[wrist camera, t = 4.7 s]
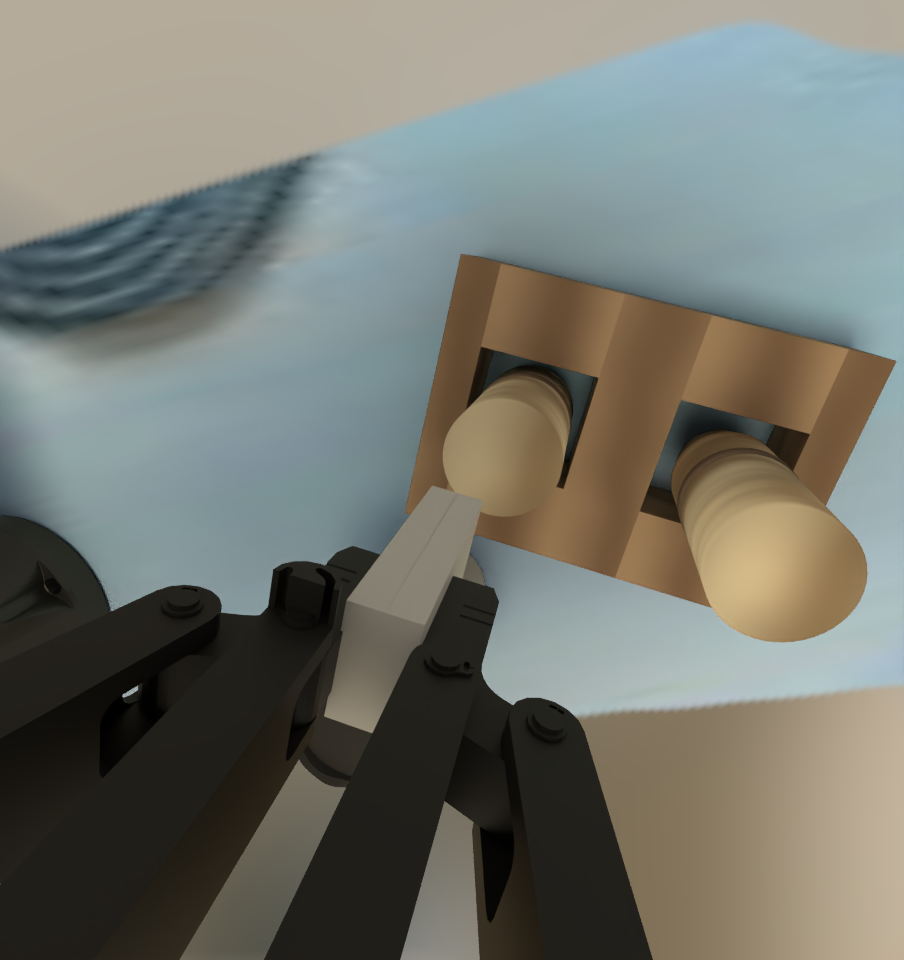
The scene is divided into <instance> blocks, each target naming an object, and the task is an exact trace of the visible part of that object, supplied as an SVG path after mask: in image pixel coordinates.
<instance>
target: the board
mask: <svg viewBox="0 0 904 960" xmlns="http://www.w3.org/2000/svg"><path fill="white" fill-rule="evenodd" d="M493 350H496V351H500V352H503V353H507V354H511V355H515V356H519V357H522V358H526V359H530V360H534V361H537V362H541V363H545V364H549V365H552V366H556V367H560V368H564V369H567V370H571V371H575V372H579V373H582V374H586V375H590V376H594V377H595V378H594V382H593V385H592V388H591V391H590V394H589V398H588V401H587V404H586V407H585V410H584V414H583V417H582V420H581V423H580V426H579V429H578V433H577V436H576V439H575V442H574V445H573V449H572V452H571V455H570V458H569V461H568V462H566V461H564V462H563V467H562V471H561V476H560V479H559V482H558V484H557V486H556V488H555V490H554V491H553V493H552V494H551V495H550V497H549V498H548V499H547V500H546V501H545V502H544V503H542V504H541V505H540V506H539V507H537V508H535V509H534V510H532V511H530V512H527V513H525V514H521V515H517V516H510V517H500V516H493V515H489V514H485V513H483V512H480V515H479V519H478V522H477V526H476V530H475V535H478V536H482V537H485V538H488V539H491V540H494V541H498V542H501V543H504V544H507V545H511V546H514V547H517V548H520V549H524V550H527V551H530V552H533V553H536V554H540V555H543V556H546V557H549V558H553V559H556V560H559V561H562V562H566V563H569V564H572V565H575V566H578V567H582V568H585V569H588V570H591V571H595V572H598V573H601V574H604V575H607V576H611V577H614V578H617V579H620V580H624V581H627V582H630V583H633V584H637V585H640V586H643V587H646V588H649V589H653V590H656V591H659V592H662V593H666V594H669V595H672V596H675V597H679V598H682V599H685V600H688V601H691V602H695V603H698V604H701V605H704V606H708V607H711V605H710V603H709V601H708V599H707V596H706V593H705V590H704V587H703V584H702V581H701V578H700V575H699V572H698V569H697V566H696V563H695V560H694V557H693V554H692V551H691V548H690V545H689V542H688V539H687V536H686V534H685V532H684V530H683V528H682V525H681V522H680V519H679V515H678V509H677V506H676V503H675V500H674V497H673V493H672V492H671V491H667V490H664V489H660V488H657V487H653V486H650V482H651V479H652V477H653V474H654V471H655V469H656V466H657V463H658V461H659V458H660V455H661V452H662V450H663V447H664V444H665V442H666V439H667V436H668V434H669V431H670V428H671V425H672V423H673V420H674V417H675V415H676V412H677V409H678V407H679V404H680V401H681V400H684V401H688V402H691V403H695V404H699V405H703V406H706V407H710V408H714V409H718V410H721V411H725V412H729V413H733V414H736V415H740V416H744V417H748V418H751V419H755V420H759V421H763V422H767V423H770V424H774V425H775V426H774V429H773V431H772V433H771V436H770V438H769V440H768V442H767V445H766V446H767V447H768V448H769V449H770V450H771V451H772V452H773V453H774V454H775V455H776V456H777V457H778V458H779V459H781V460H782V461H783V462H784V463H785V464H787V465H788V466H789V467H790V468H791V469H792V470H793V472H794V473H795V474H796V475H797V476H798V478H799V479H800V481H801V482H802V483H803V484H804V485H805V486H806V487H807V488H808V489H809V490H810V491H811V492H812V493H813V494H814V495H815V496H816V497H817V498H818V499H819V500H820V501H821V502H822V503H823V504H824V505H825V506H826V504H827V502H828V500H829V498H830V496H831V494H832V492H833V489H834V487H835V485H836V483H837V481H838V479H839V477H840V475H841V473H842V471H843V469H844V467H845V465H846V463H847V461H848V459H849V457H850V455H851V453H852V451H853V449H854V447H855V445H856V443H857V441H858V439H859V436H860V434H861V432H862V430H863V428H864V426H865V424H866V422H867V420H868V418H869V416H870V414H871V412H872V410H873V408H874V406H875V404H876V402H877V400H878V398H879V396H880V394H881V392H882V390H883V388H884V386H885V383H886V381H887V379H888V377H889V375H890V373H891V371H892V369H893V367H894V365H895V363H896V361H895V360H891V359H888V358H884V357H881V356H877V355H874V354H870V353H867V352H863V351H860V350H857V349H853V348H849V347H845V346H841V345H837V344H833V343H829V342H825V341H821V340H816V339H812V338H808V337H804V336H800V335H796V334H792V333H788V332H784V331H780V330H776V329H772V328H768V327H764V326H759V325H755V324H751V323H747V322H743V321H739V320H735V319H731V318H727V317H723V316H719V315H715V314H711V313H707V312H702V311H698V310H694V309H690V308H686V307H682V306H678V305H674V304H670V303H666V302H662V301H658V300H654V299H650V298H645V297H641V296H637V295H633V294H629V293H625V292H621V291H617V290H613V289H609V288H605V287H601V286H597V285H592V284H588V283H584V282H580V281H576V280H572V279H568V278H564V277H560V276H556V275H552V274H548V273H544V272H540V271H535V270H531V269H527V268H523V267H519V266H515V265H511V264H507V263H503V262H499V261H495V260H491V259H487V258H483V257H478V256H471V255H465V254H461V256H460V261H459V265H458V270H457V275H456V279H455V284H454V288H453V293H452V298H451V302H450V307H449V311H448V316H447V321H446V325H445V330H444V334H443V339H442V344H441V348H440V353H439V357H438V362H437V367H436V371H435V376H434V380H433V385H432V390H431V394H430V399H429V403H428V408H427V413H426V417H425V422H424V427H423V431H422V436H421V440H420V445H419V450H418V454H417V459H416V463H415V468H414V473H413V477H412V482H411V486H410V491H409V496H408V500H407V505H406V509H405V513H407V514H411V513H412V512H413V511H414V509H415V508H416V507H417V505H418V504H419V503H420V501H421V500H422V499H423V497H424V496H425V495H426V493H427V492H428V491H429V489H430V488H431V487H432V486H435V487H439V488H442V489H446V490H449V491H452V492H455V491H454V490H453V488H452V487H451V485H450V483H449V481H448V479H447V477H446V474H445V470H444V466H443V447H444V442H445V439H446V436H447V434H448V432H449V430H450V428H451V427H452V425H453V423H454V422H455V421H456V420H457V419H458V418H459V417H460V416H461V415H462V414H463V413H464V412H465V411H466V410H467V409H468V408H469V407H470V406H471V405H472V404H473V403H474V402H475V401H476V400H477V399H478V398H479V396H480V395H481V394H482V392H483V390H484V386H485V382H486V378H487V374H488V370H489V366H490V362H491V358H492V354H493ZM711 608H712V607H711Z"/></svg>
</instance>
